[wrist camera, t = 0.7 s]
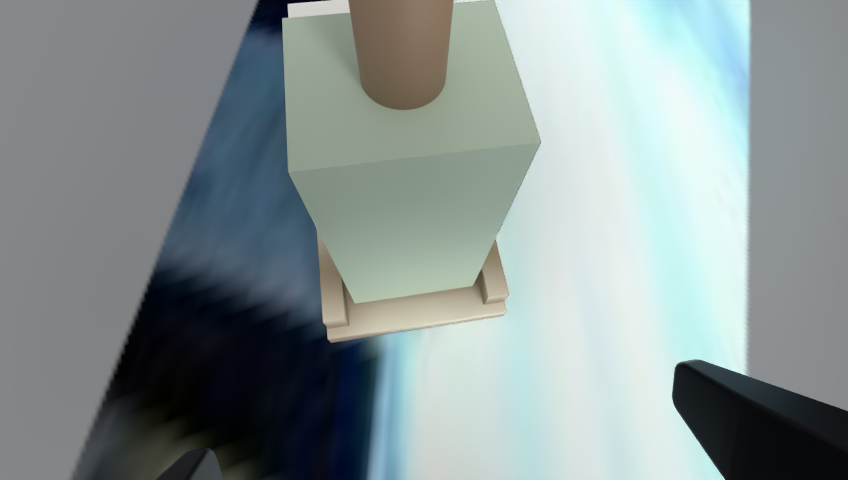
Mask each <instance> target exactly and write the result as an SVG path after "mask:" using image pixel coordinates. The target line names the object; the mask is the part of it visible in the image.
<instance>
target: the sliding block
mask: <svg viewBox="0 0 848 480" xmlns="http://www.w3.org/2000/svg"><path fill="white" fill-rule="evenodd" d="M348 2H349V8H350V13H338V14H327V15H315V16H304V17H293V18H282V27H283V53H284V78H285V104H286V129H287V155H288V173H289V175H290V177H291V179H292V181H293V183H294V185H295V187H296V189H297V191H298V193H299V195H300V197H301V199H302V201H303V202H304V204H305V206H306V208H307V210H308V212H309V214H310V216H311V218H312V220H313V222H314V224H315V226H316V228H317V230H318V232H319V234H320V236H321V238H322V240H323V242H324V244H325V246H326V248H327V250H328V252H329V254H330V256H331V258H332V260H333V262H334V264H335V265H336V267H337V269H338V271H339V273H340V275H341V277H342V279H343V281H344V283H345V285H346V287H347V289H348V291H349V293H350V295H351V297H352V299H353V301H354V303H355V304H357V303H364V302H370V301H377V300H384V299H390V298H397V297H404V296H410V295H417V294H424V293H430V292H437V291H444V290H450V289H457V288H464V287H470V286H473V285H474V283H475V280H476V278H477V276H478V274H479V272H480V270H481V268H482V266H483V264H484V261H485V259H486V257H487V255H488V253H489V251H490V249H491V247H492V245H493V242H494V240H495V238H496V236H497V234H498V232H499V230H500V228H501V226H502V224H503V221H504V219H505V217H506V215H507V213H508V211H509V209H510V207H511V205H512V202H513V200H514V198H515V196H516V194H517V192H518V190H519V188H520V186H521V183H522V181H523V179H524V177H525V175H526V173H527V171H528V169H529V167H530V165H531V162H532V160H533V158H534V156H535V154H536V152H537V150H538V148H539V146H540V143H541V140H540V137H539V134H538V131H537V128H536V125H535V122H534V119H533V116H532V113H531V110H530V107H529V104H528V100H527V97H526V94H525V91H524V88H523V85H522V82H521V79H520V76H519V73H518V70H517V67H516V64H515V61H514V58H513V55H512V52H511V49H510V46H509V43H508V40H507V37H506V34H505V31H504V28H503V25H502V22H501V19H500V16H499V13H498V10H497V7H496V4H495V1H494V0H487V1H476V2H464V3H454V0H348Z"/></svg>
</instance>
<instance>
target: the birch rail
mask: <svg viewBox="0 0 848 480" xmlns="http://www.w3.org/2000/svg"><path fill="white" fill-rule="evenodd" d="M317 240H318V255H319V270H320V285H321V300H322V315H323V323H324V324H325V325H326V326H327V336H328V340H329V341H330V342H331V343H333V342H339V341H345V340H352V339H358V338H364V337H371V336H377V335H383V334H390V333H396V332H402V331H409V330H415V329H421V328H428V327H434V326H440V325H447V324H453V323H459V322H466V321H472V320H479V319H485V318H491V317H498V316H503V315H504V314H505V313H506V312H507V310H506V306H505V301H504V300H505V298H506V297H507V296H508V295H509V292H508V288H507V284H506V280H505V276H504V272H503V268H502V264H501V260H500V256H499V252H498V248H497V244H496V240H494V242H493V245H492V247H491V249H490V251H489V253H488V255H487V257H486V259H485V261H484V264H483V266H482V268H481V270H480V272H479V274H478V276H477V278H476V280H475V283H474V285H473V286H470V287H464V288H457V289H450V290H444V291H437V292H430V293H424V294H417V295H410V296H404V297H397V298H390V299H384V300H377V301H370V302H364V303H357V304H355V303H354V301H353V299H352V297H351V295H350V293H349V291H348V289H347V287H346V285H345V283H344V281H343V279H342V277H341V275H340V273H339V271H338V269H337V267H336V265H335V264H334V262H333V260H332V258H331V256H330V254H329V252H328V250H327V248H326V246H325V244H324V242H323V240H322V238H321V236H320V234H319V232H318V230H317Z"/></svg>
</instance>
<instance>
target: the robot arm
mask: <svg viewBox="0 0 848 480" xmlns="http://www.w3.org/2000/svg"><path fill="white" fill-rule="evenodd" d="M672 399H673V403H674V406H675V408H676V409H677V411H678V413H679V414H680V415H681V417H682V418H683V420H684V421H685V423H686V424H687V426H688V427H689V429H690V430H691V431H692V433H693V434H694V436H695V437H696V439H697V440H698V442H699V443H700V444H701V446H702V447H703V449H704V450H705V452H706V453H707V455H708V456H709V457H710V459H711V460H712V462H713V463H714V465H715V466H716V468H717V469H718V470H719V472H720V473H721V475H722V476H723V477H724V479H725V480H848V411H846V410H843V409H840V408H837V407H835V406H831V405H829V404H825V403H823V402H820V401H817V400H814V399H811V398H808V397H806V396H803V395H800V394H797V393H794V392H791V391H788V390H785V389H783V388H780V387H777V386H774V385H771V384H768V383H765V382H763V381H760V380H757V379H754V378H751V377H748V376H745V375H742V374H740V373H737V372H734V371H731V370H728V369H725V368H722V367H719V366H717V365H714V364H711V363H708V362H705V361H702V360H689V361H684V362H680V363H678V364H677V365H676V367H675V371H674V381H673V391H672ZM156 480H224V479H223V476H222V473H221V470H220V467H219V464H218V461H217V458H216V455H215V453H214V451H213V450H212V449H210V448H205V449H199V450H194V451H189V452H187V453H185V454H184V455H183V456H181V457H180V458H179V459H178V460H177V461H176V462H175V463H174V464H172V465H171V466H170V467H169V468H168V469H167V470H166V471H165V472H164V473H162V474H161V475H160V476H159V477H158V478H157V479H156Z"/></svg>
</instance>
